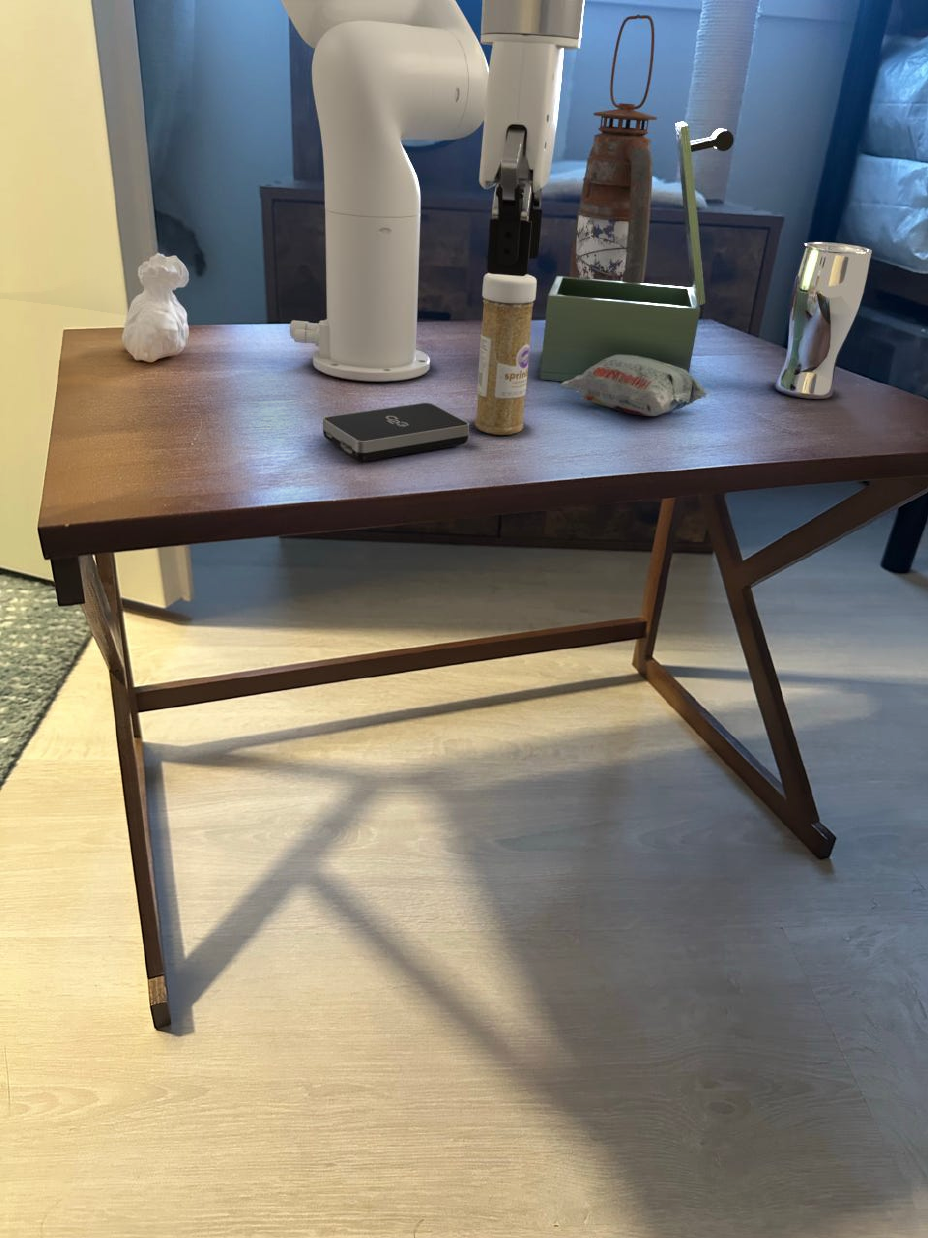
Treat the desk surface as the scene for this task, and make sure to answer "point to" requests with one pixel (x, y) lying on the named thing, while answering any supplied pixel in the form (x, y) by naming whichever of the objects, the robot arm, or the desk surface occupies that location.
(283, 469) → the desk surface
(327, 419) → the external hard drive
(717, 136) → the bin lid
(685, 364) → the waste bin
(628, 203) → the lantern
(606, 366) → the packaged food
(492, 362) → the sprinkles bottle
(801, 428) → the desk surface
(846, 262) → the beer glass
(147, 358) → the white tied sack
